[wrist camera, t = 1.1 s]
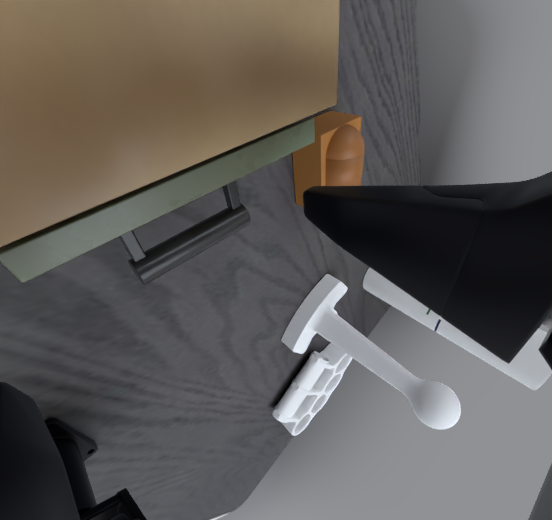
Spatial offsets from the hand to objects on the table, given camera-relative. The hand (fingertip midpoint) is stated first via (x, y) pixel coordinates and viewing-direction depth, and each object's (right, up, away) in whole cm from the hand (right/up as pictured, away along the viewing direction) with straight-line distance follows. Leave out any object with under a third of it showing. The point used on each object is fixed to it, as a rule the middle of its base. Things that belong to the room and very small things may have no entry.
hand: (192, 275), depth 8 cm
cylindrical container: (+20, -2, +43) cm, 48 cm away
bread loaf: (+6, +10, +19) cm, 23 cm away
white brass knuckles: (+8, -21, +45) cm, 50 cm away
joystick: (+7, -7, +34) cm, 35 cm away
